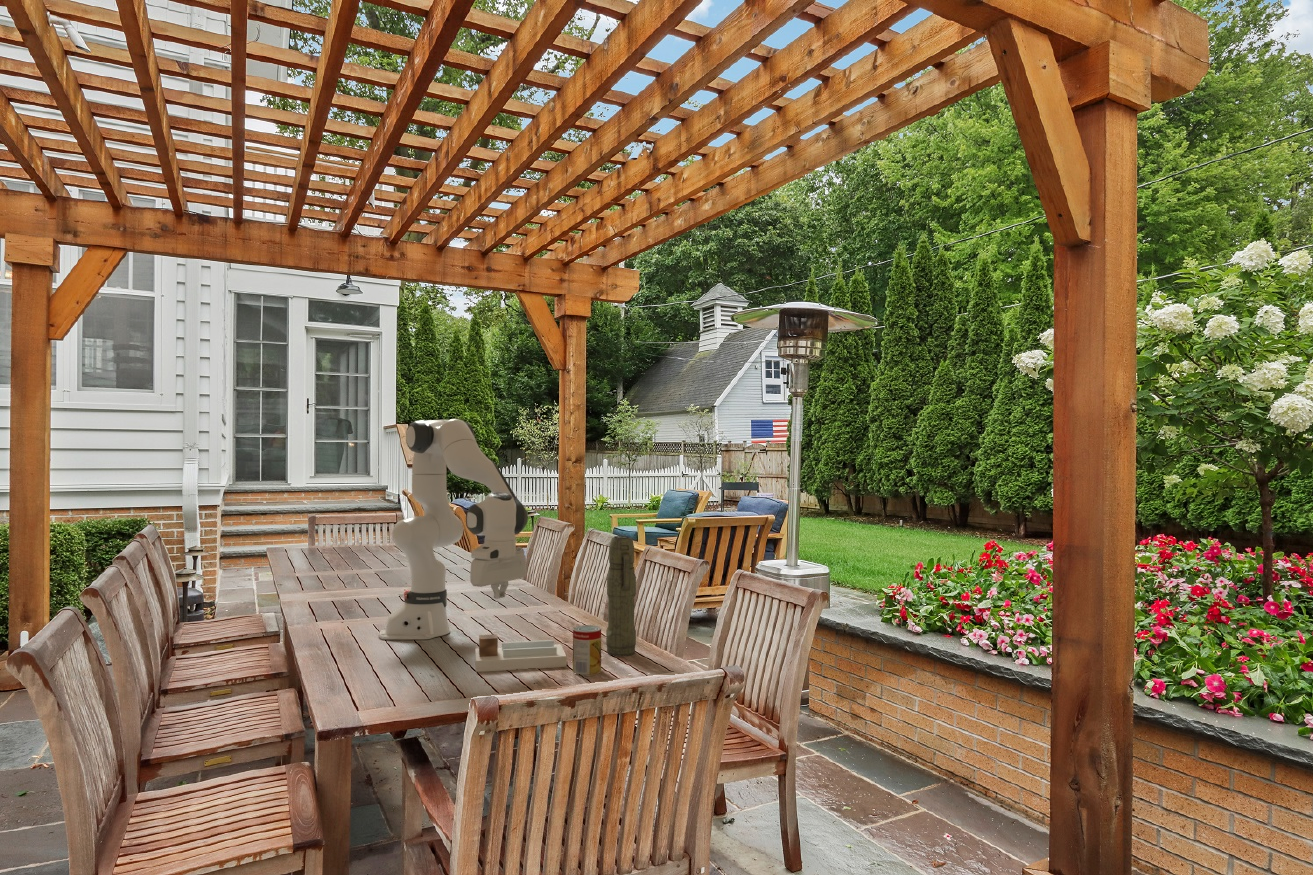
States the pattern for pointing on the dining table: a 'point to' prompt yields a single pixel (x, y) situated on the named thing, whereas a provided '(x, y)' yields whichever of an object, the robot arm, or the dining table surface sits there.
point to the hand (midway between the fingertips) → (499, 597)
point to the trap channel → (523, 656)
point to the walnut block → (488, 645)
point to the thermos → (621, 597)
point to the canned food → (587, 650)
